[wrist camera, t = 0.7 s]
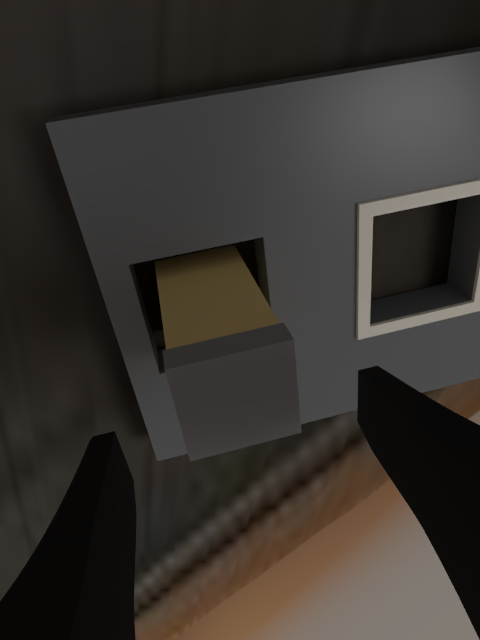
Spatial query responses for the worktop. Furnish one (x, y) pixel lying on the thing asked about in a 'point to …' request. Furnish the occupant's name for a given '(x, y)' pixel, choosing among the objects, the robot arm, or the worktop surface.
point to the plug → (225, 354)
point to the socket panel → (291, 216)
